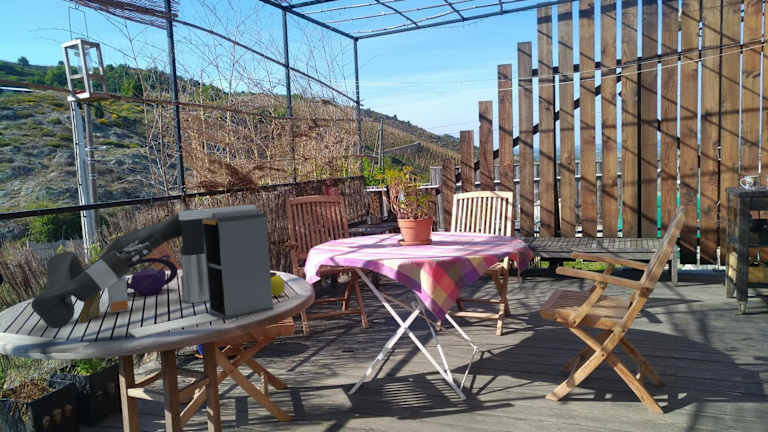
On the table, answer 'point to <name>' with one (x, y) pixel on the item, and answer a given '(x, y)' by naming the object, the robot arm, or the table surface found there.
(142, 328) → the mat
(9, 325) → the table surface
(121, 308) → the skincare box
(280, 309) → the table surface
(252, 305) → the rack
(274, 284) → the lemon
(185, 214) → the panel
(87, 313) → the rock
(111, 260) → the robot arm
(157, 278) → the purple handbag
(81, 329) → the table surface
